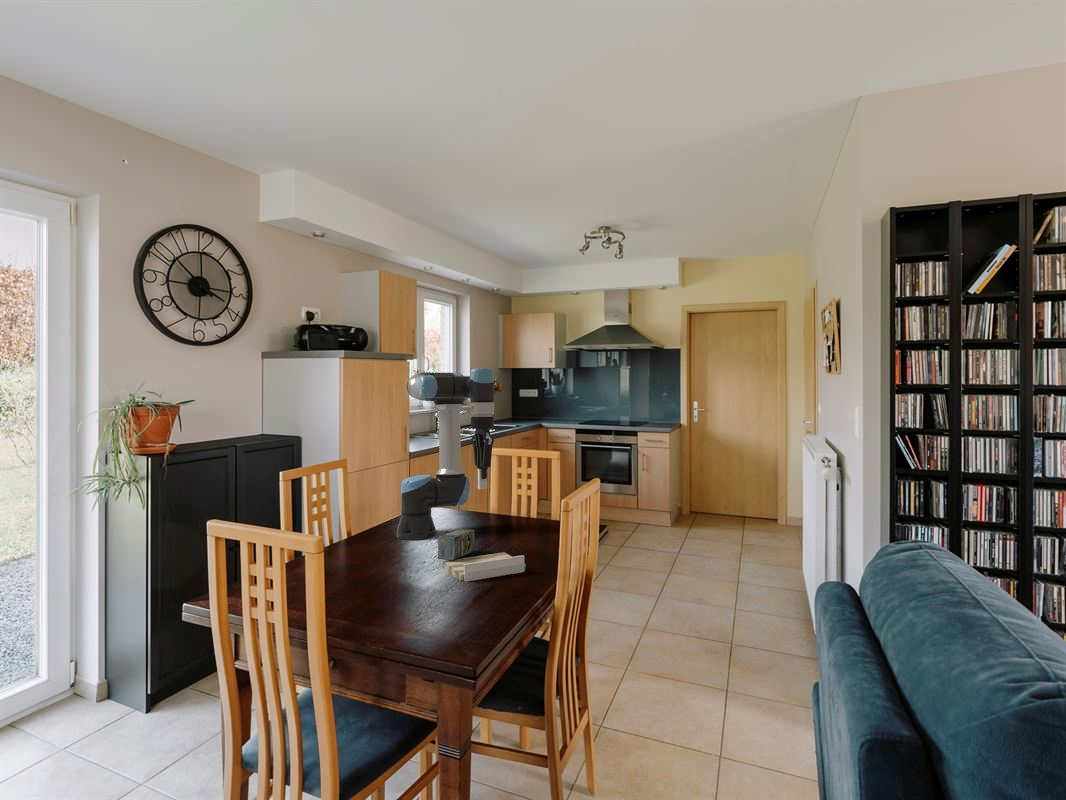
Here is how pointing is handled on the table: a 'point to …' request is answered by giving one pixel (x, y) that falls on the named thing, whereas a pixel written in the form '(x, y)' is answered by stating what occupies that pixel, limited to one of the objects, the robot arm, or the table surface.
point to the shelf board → (458, 564)
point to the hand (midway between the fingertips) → (482, 488)
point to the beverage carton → (455, 544)
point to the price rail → (493, 568)
